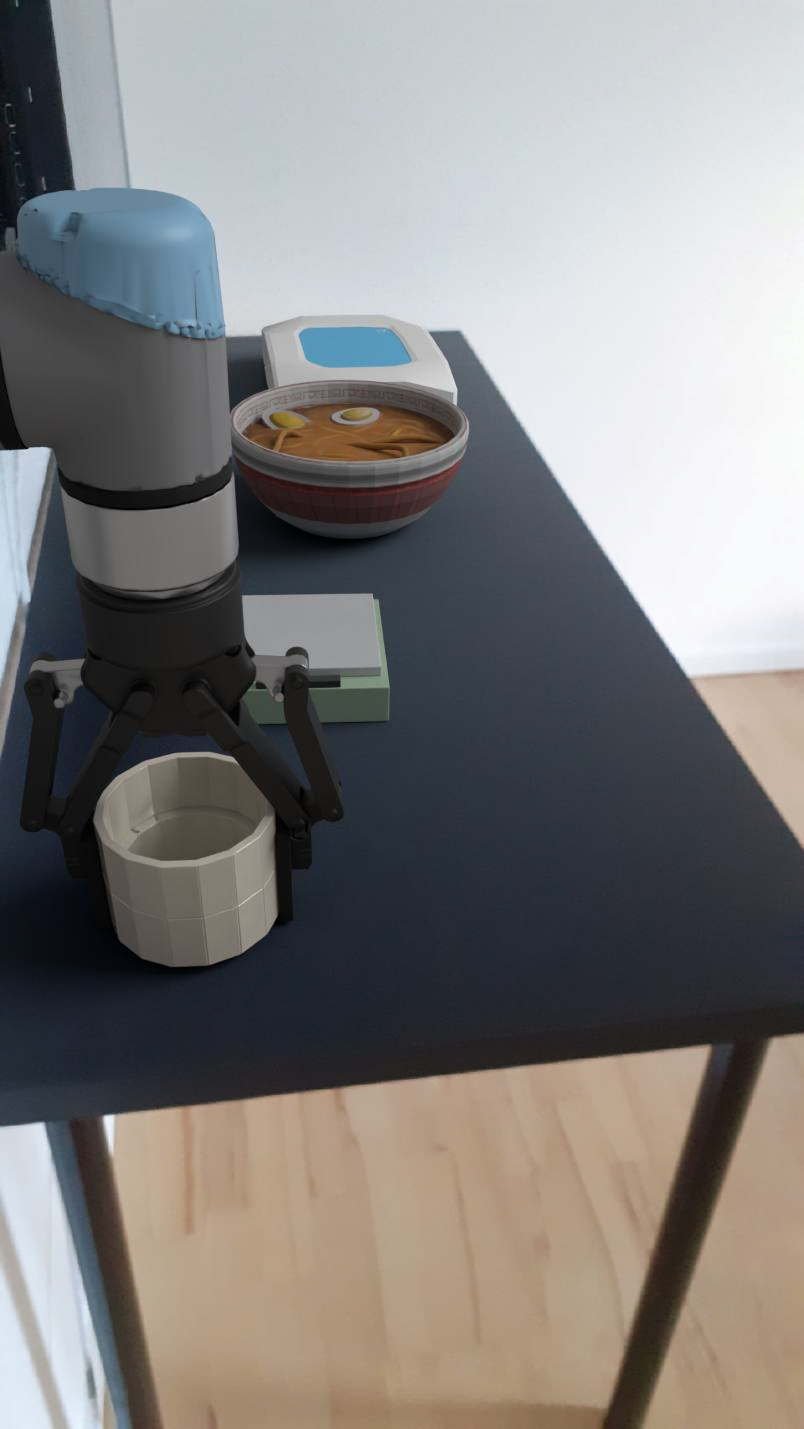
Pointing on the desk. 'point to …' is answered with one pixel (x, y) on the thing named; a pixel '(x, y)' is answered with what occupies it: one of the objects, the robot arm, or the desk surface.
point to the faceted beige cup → (188, 859)
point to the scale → (322, 653)
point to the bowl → (348, 453)
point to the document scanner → (355, 353)
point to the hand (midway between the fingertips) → (197, 907)
